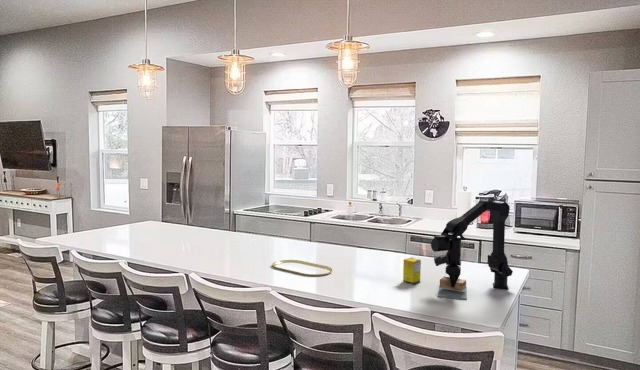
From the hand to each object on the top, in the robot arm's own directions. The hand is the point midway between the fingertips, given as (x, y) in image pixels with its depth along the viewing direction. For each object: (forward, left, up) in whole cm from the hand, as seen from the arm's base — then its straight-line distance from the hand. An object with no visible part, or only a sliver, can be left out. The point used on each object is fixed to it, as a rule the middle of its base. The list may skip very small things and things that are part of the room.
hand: (452, 284), depth 209 cm
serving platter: (-15, -76, -4) cm, 78 cm away
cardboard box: (0, 0, -1) cm, 1 cm away
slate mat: (0, 0, -3) cm, 3 cm away
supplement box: (-10, -19, -4) cm, 22 cm away
